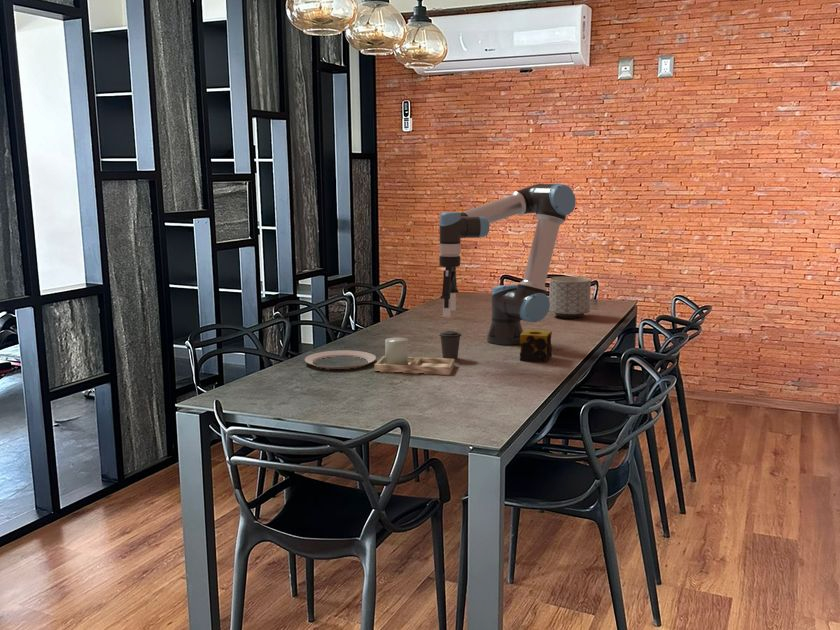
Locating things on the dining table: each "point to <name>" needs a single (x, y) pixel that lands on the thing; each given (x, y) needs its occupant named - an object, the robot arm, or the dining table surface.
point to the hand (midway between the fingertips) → (449, 313)
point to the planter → (569, 296)
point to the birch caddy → (418, 366)
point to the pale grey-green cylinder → (396, 351)
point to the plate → (320, 355)
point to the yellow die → (535, 346)
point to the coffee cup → (450, 344)
